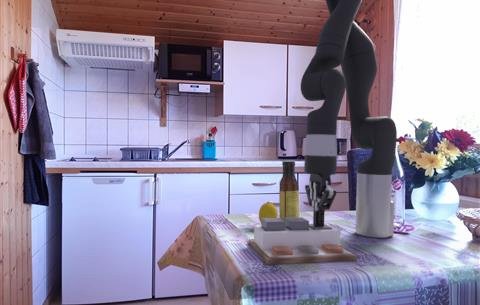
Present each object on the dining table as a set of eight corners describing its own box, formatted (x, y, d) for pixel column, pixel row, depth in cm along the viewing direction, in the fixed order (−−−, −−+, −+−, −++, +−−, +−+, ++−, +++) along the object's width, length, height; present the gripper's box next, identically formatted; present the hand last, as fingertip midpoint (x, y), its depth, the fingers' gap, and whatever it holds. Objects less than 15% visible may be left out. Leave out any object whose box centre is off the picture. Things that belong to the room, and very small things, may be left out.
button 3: (278, 234, 84) (279, 217, 84) (284, 239, 80) (285, 221, 80) (261, 234, 83) (261, 218, 83) (266, 239, 79) (266, 221, 79)
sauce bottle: (301, 222, 113) (303, 161, 112) (294, 225, 107) (295, 161, 107) (283, 219, 116) (285, 160, 116) (275, 223, 111) (276, 160, 111)
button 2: (301, 233, 85) (301, 217, 85) (308, 238, 81) (309, 221, 81) (284, 234, 84) (284, 217, 84) (290, 238, 80) (291, 221, 80)
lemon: (276, 231, 100) (277, 203, 100) (257, 229, 101) (257, 202, 101) (278, 227, 105) (278, 200, 105) (259, 225, 106) (260, 199, 106)
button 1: (323, 239, 87) (323, 223, 86) (331, 244, 82) (331, 227, 82) (306, 240, 86) (307, 224, 86) (313, 245, 81) (314, 228, 81)
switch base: (323, 240, 91) (324, 231, 91) (356, 260, 75) (356, 249, 75) (248, 243, 87) (249, 233, 87) (267, 264, 71) (267, 253, 71)
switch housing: (324, 239, 89) (325, 223, 89) (340, 247, 81) (340, 230, 81) (253, 241, 85) (254, 224, 85) (262, 250, 77) (263, 232, 77)
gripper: (349, 155, 78) (346, 232, 78) (323, 153, 91) (321, 220, 91) (317, 154, 76) (315, 233, 77) (295, 153, 89) (293, 220, 90)
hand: (318, 226), depth 84 cm, fingers closed
